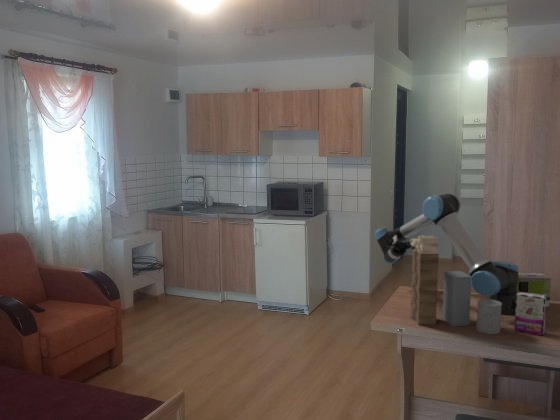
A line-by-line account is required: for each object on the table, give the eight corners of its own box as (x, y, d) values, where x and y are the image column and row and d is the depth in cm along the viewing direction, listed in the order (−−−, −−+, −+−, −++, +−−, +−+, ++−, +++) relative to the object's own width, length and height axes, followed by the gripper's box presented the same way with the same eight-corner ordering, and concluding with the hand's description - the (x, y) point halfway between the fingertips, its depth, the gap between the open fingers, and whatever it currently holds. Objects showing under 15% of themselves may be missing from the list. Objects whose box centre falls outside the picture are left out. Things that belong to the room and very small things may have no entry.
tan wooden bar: (406, 244, 243) (406, 230, 242) (420, 244, 244) (421, 229, 243) (421, 254, 223) (422, 238, 222) (437, 253, 224) (438, 237, 223)
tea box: (541, 301, 259) (543, 272, 257) (549, 307, 250) (551, 278, 247) (510, 300, 261) (511, 272, 259) (517, 307, 251) (519, 277, 249)
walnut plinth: (410, 317, 238) (412, 249, 233) (427, 316, 239) (429, 248, 234) (418, 324, 228) (420, 254, 223) (435, 324, 229) (438, 253, 224)
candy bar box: (544, 332, 219) (547, 295, 216) (542, 336, 214) (545, 298, 212) (515, 327, 225) (518, 290, 222) (513, 330, 221) (516, 293, 218)
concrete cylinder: (505, 331, 220) (506, 303, 218) (490, 335, 215) (491, 307, 213) (486, 324, 228) (487, 297, 226) (471, 328, 223) (472, 301, 222)
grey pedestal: (442, 318, 236) (444, 271, 233) (459, 317, 237) (461, 270, 234) (451, 326, 226) (453, 277, 223) (469, 325, 227) (471, 276, 224)
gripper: (421, 256, 269) (436, 244, 250) (374, 257, 267) (385, 245, 247) (419, 242, 272) (433, 229, 252) (373, 243, 270) (384, 230, 250)
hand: (410, 237), depth 250 cm, fingers open, 13 cm apart
